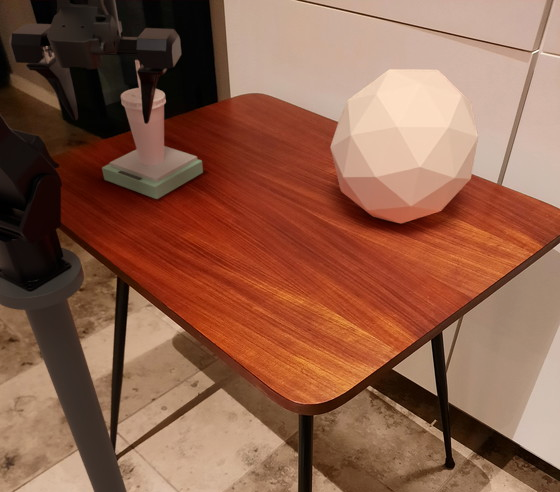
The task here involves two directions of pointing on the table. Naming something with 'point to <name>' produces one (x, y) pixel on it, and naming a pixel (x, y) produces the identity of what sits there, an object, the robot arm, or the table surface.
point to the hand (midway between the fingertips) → (111, 121)
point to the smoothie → (150, 134)
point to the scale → (153, 172)
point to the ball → (405, 144)
